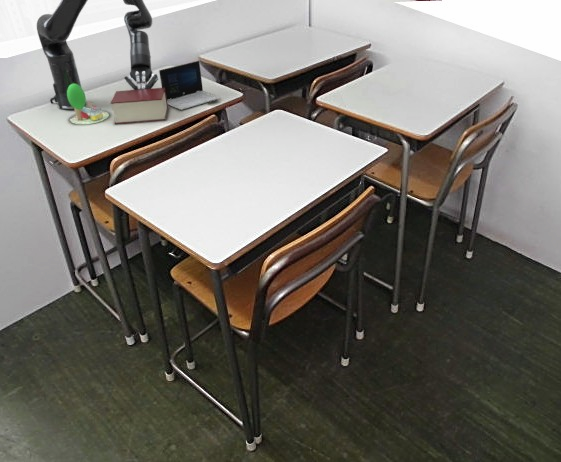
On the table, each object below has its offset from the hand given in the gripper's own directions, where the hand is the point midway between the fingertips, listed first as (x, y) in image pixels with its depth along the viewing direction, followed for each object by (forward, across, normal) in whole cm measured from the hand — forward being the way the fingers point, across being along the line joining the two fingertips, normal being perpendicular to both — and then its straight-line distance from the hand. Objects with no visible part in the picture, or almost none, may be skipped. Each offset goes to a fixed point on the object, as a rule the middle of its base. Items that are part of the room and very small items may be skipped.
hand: (142, 99), depth 200 cm
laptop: (0, +18, +6) cm, 19 cm away
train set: (+6, -20, 0) cm, 21 cm away
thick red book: (+8, 0, -2) cm, 8 cm away
